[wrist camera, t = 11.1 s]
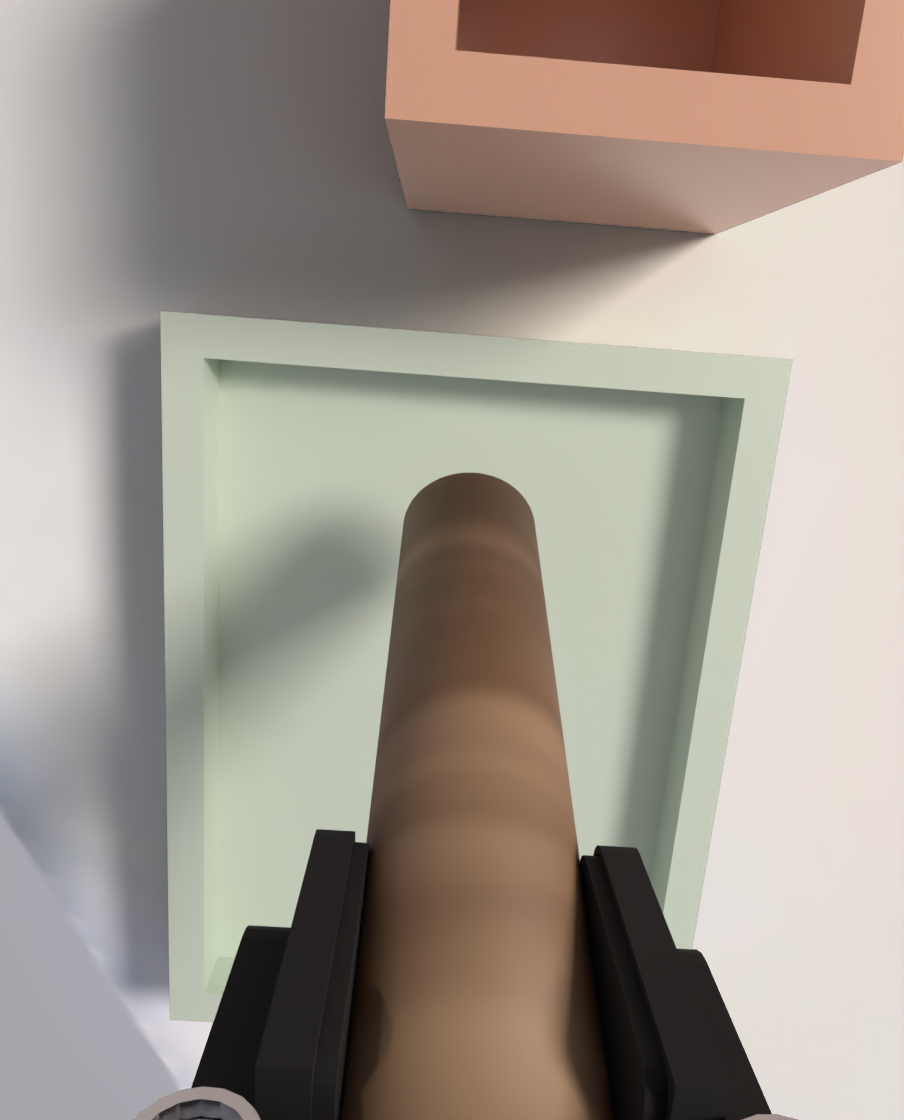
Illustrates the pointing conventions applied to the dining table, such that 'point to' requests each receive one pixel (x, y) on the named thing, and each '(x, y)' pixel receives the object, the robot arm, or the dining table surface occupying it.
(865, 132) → the pink square bin
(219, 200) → the dining table surface
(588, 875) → the robot arm
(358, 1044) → the dowel
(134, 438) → the dining table surface
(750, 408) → the tray
